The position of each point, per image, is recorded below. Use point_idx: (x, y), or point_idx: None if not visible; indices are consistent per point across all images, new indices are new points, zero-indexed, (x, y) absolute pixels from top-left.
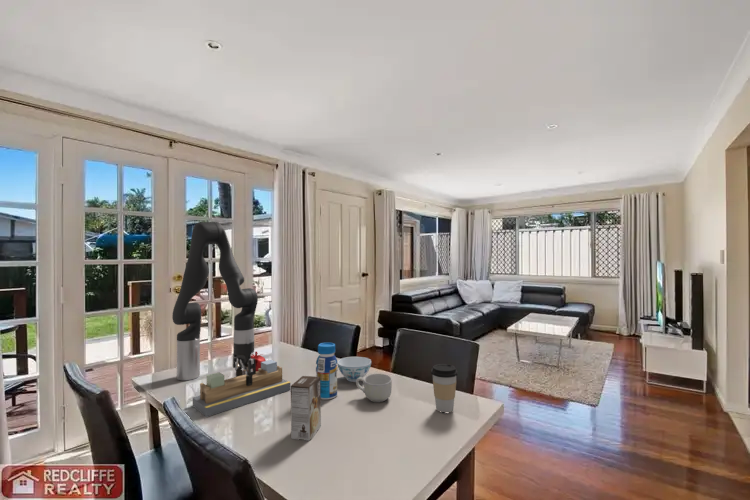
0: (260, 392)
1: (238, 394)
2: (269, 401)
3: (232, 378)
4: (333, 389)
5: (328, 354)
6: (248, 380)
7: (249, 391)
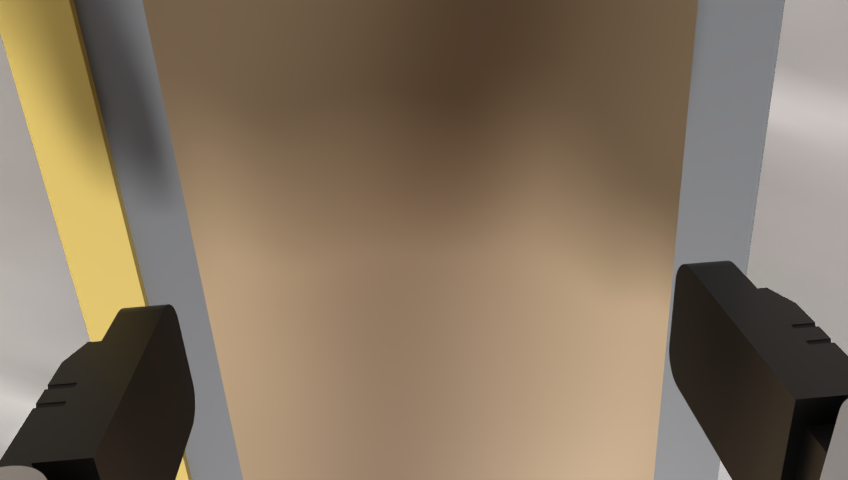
0: None
1: None
2: (11, 409)
3: (626, 156)
4: None
5: None
6: (41, 413)
7: None
